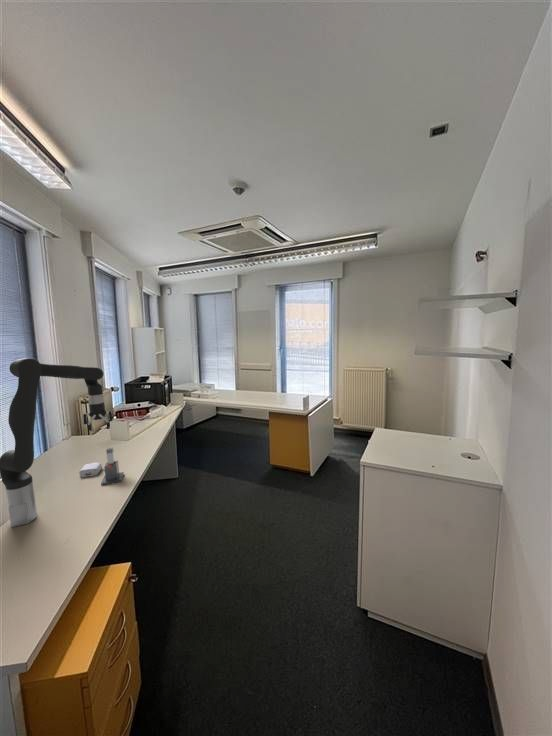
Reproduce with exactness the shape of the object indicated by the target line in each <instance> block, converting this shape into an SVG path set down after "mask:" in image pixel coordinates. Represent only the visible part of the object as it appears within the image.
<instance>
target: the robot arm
mask: <svg viewBox="0 0 552 736" xmlns="http://www.w3.org/2000/svg"><path fill="white" fill-rule="evenodd" d="M9 372H10V374H12V375H13V376H14V377H16V378H18V380H17V381H18V383H17V389H16V392H15V395H14V396H13V398H12V400H11V402H10V406H9V409H8V418H7V419H8V426H9V428H10V431H11V433H12V435H13V438H14V449H12V450H11V449H10V450H8V451H5V452H4V453H3V454H2V455H1V456H0V479H1V482H2V484H3V485H4V487H5V491H6V499H7V507H8V513H9V521H10V526H11V528H15V527H19V526H24V525H27V524H29V523H31V522H32V521H34V520H35V519H37V517H38V510H37V503H36V496H35V489H34V481H33V477H32V475H31V473H28V472H27V471H28V470H29V469H31V467H32V466H33V463H34V460H35V447H34V445H35V444H34V440H35V439H34V437H35V436H34V434H35V421H36V416H37V415H36V413H37V411H36V410H37V399H38V388H39V382H40V378H41V377H49V378H58V379H59V378H60V379H61V378H62V379H72V380H84V382H85V385H86V387H87V393H88V394H87V395H88V398H87V399H88V407H89V413H87V412H85V413H84V414H83V415H82V416H83V417H82V418H83V425H87V428H88V429H87V430H88V431H90V432H92V431H93V426H92V423H93V421H97V420H99V421H100V420H103V421H105V422H106V429H110V427H111V422H112V421H113V420H114V418H113V417H114V416H113V410H112V409H111V410H106V407H105V398H104V393H103V390H104V389H103V385H102V384H101V383H99V380H101V379H102V378H103V376H104V371H103V370H102V369H101V368H99V367H93V366H92V367H89V366H80V365H73V364H72V365H71V364H52V363H51V364H49V363H42V362H40V361H38V359H36V358H33V357H25V358H19V359H15V360H13V361H12V362H11V363H10V364H9ZM106 415H108V416H109V418H108V416H106ZM89 416H90V419H89V421H88V417H89Z"/></svg>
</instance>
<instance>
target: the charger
mask: <svg viewBox="0 0 552 736" xmlns="http://www.w3.org/2000/svg"><path fill="white" fill-rule="evenodd" d="M101 469H103V467H102V463H101V462H98V461H97V462H91V463H87V464H84V465H83V466H82V468H81V469H80V470H79V477H80V478H81V477H82V478H88V477H87V476H89V477H94V476H93V475H96V476H97V475H98V474H99V473H100V472H101Z"/></svg>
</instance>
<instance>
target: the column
mask: <svg viewBox="0 0 552 736" xmlns="http://www.w3.org/2000/svg"><path fill="white" fill-rule="evenodd" d="M106 459H107V460H106V461H107V462H108V465H113V464H115V461H116V459H115V452H114V447H107V448H106Z"/></svg>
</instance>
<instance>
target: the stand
mask: <svg viewBox="0 0 552 736" xmlns="http://www.w3.org/2000/svg"><path fill="white" fill-rule="evenodd" d="M104 474H105V475H104V476H103V479H102V481H101V482H100V484H101V485H100V486H102V485H103V486H106V485H107V484H108V485H112V483H114V484H118V482H119V483H122V480H123V479H124V476H125V473H124V471H122V472H120V467H119V461H118V460H115V464H113V465H108V461H107V462H106V463H105V464H104Z"/></svg>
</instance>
